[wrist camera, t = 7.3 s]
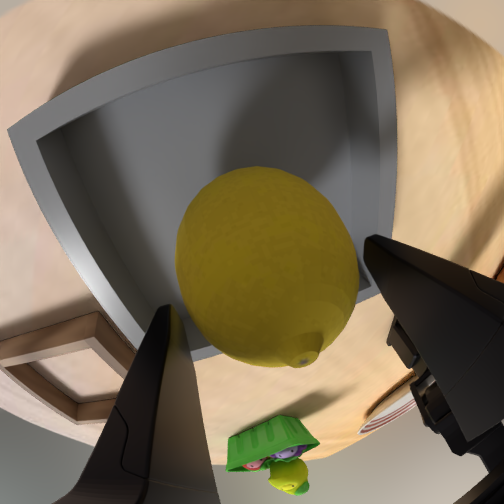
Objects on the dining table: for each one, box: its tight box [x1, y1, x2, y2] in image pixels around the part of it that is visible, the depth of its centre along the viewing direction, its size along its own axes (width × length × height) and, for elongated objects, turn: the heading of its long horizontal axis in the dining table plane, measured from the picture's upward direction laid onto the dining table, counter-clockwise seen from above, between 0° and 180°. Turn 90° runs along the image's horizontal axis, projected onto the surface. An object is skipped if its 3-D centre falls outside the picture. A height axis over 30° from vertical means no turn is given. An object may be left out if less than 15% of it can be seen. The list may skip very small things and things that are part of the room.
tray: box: [7, 25, 397, 362], centre depth 12 cm, size 14×14×3 cm
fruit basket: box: [226, 415, 320, 495], centre depth 28 cm, size 11×9×11 cm
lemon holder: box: [0, 311, 135, 425], centre depth 16 cm, size 11×11×2 cm
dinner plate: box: [358, 375, 434, 435], centre depth 45 cm, size 28×27×3 cm
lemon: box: [175, 166, 360, 368], centre depth 9 cm, size 6×6×8 cm
